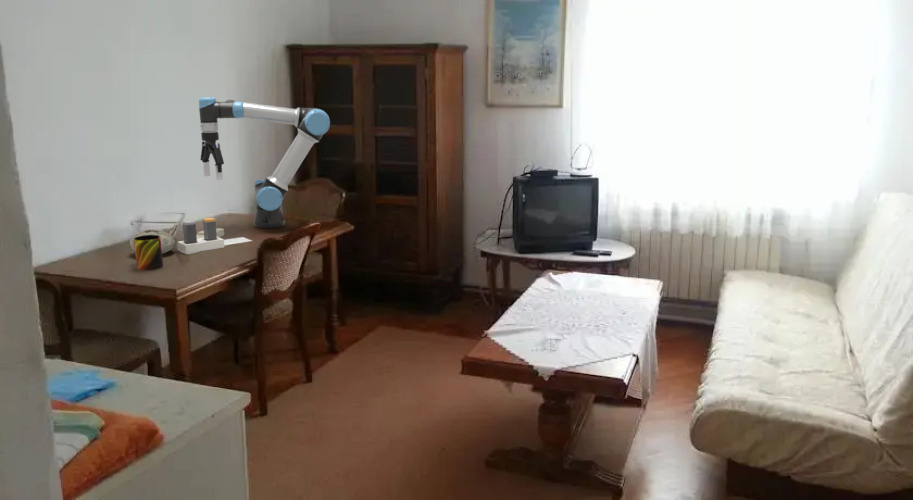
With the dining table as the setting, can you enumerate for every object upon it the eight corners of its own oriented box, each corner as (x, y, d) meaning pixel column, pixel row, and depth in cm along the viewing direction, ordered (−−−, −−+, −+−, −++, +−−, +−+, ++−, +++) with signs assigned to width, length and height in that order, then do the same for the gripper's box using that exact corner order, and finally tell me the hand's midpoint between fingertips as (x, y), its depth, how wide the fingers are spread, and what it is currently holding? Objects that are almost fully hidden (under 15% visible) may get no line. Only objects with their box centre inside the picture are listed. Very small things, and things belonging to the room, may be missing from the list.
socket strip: (215, 244, 347) (213, 216, 344) (224, 248, 340) (222, 219, 337) (178, 250, 336) (175, 221, 333) (186, 254, 329) (183, 224, 326)
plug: (213, 242, 343) (211, 217, 340) (217, 243, 340) (215, 218, 338) (204, 243, 341) (202, 218, 338) (208, 244, 338) (206, 220, 335)
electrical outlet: (187, 235, 348) (211, 227, 365) (187, 244, 349) (211, 236, 366) (200, 236, 346) (224, 228, 363) (201, 245, 347) (224, 237, 364)
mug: (137, 262, 316) (134, 234, 313) (167, 264, 313) (165, 235, 311) (122, 269, 307) (119, 239, 304) (154, 270, 304) (151, 241, 301)
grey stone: (182, 249, 339) (180, 226, 336) (164, 259, 321) (162, 236, 319) (143, 248, 340) (141, 226, 338) (123, 258, 323) (120, 235, 320)
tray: (242, 238, 359) (242, 237, 359) (252, 241, 352) (252, 240, 352) (213, 242, 351) (213, 241, 350) (223, 246, 343) (223, 245, 343)
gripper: (190, 130, 363) (194, 175, 369) (213, 134, 345) (217, 181, 350) (206, 129, 368) (209, 174, 373) (229, 133, 350) (232, 180, 355)
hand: (213, 177), depth 362 cm, fingers open, 13 cm apart
